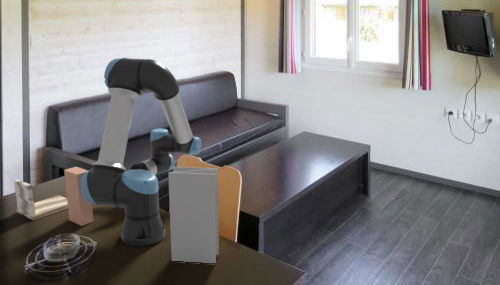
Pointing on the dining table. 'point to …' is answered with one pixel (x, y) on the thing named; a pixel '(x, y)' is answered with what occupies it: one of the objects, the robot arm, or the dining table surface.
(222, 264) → the dining table surface
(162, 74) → the robot arm
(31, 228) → the dining table surface
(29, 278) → the dining table surface
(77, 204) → the salmon pink rectangular block
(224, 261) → the dining table surface
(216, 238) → the brochure
